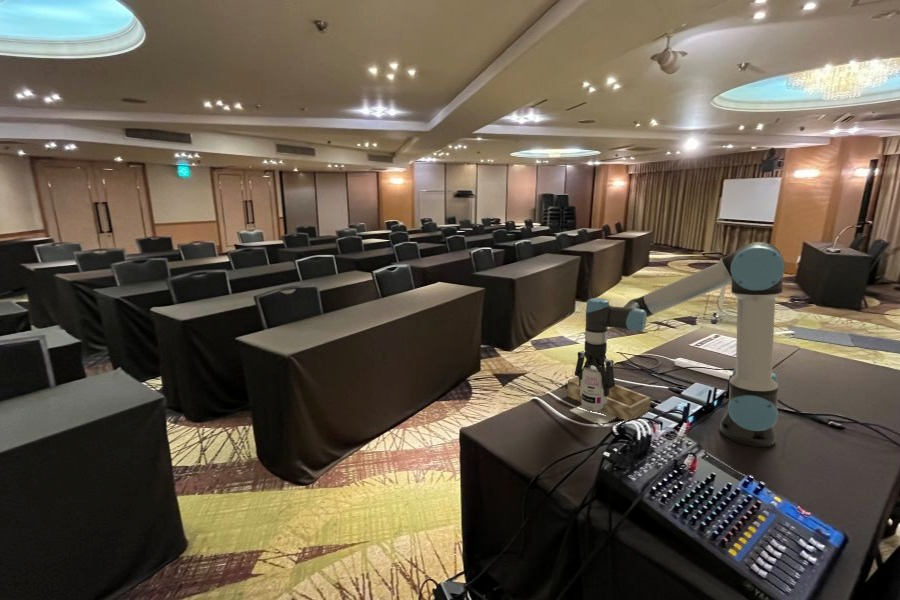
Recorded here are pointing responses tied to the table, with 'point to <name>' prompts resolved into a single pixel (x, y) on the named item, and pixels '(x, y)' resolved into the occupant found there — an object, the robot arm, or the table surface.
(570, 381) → the crate
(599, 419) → the mat
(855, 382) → the table surface
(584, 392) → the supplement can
